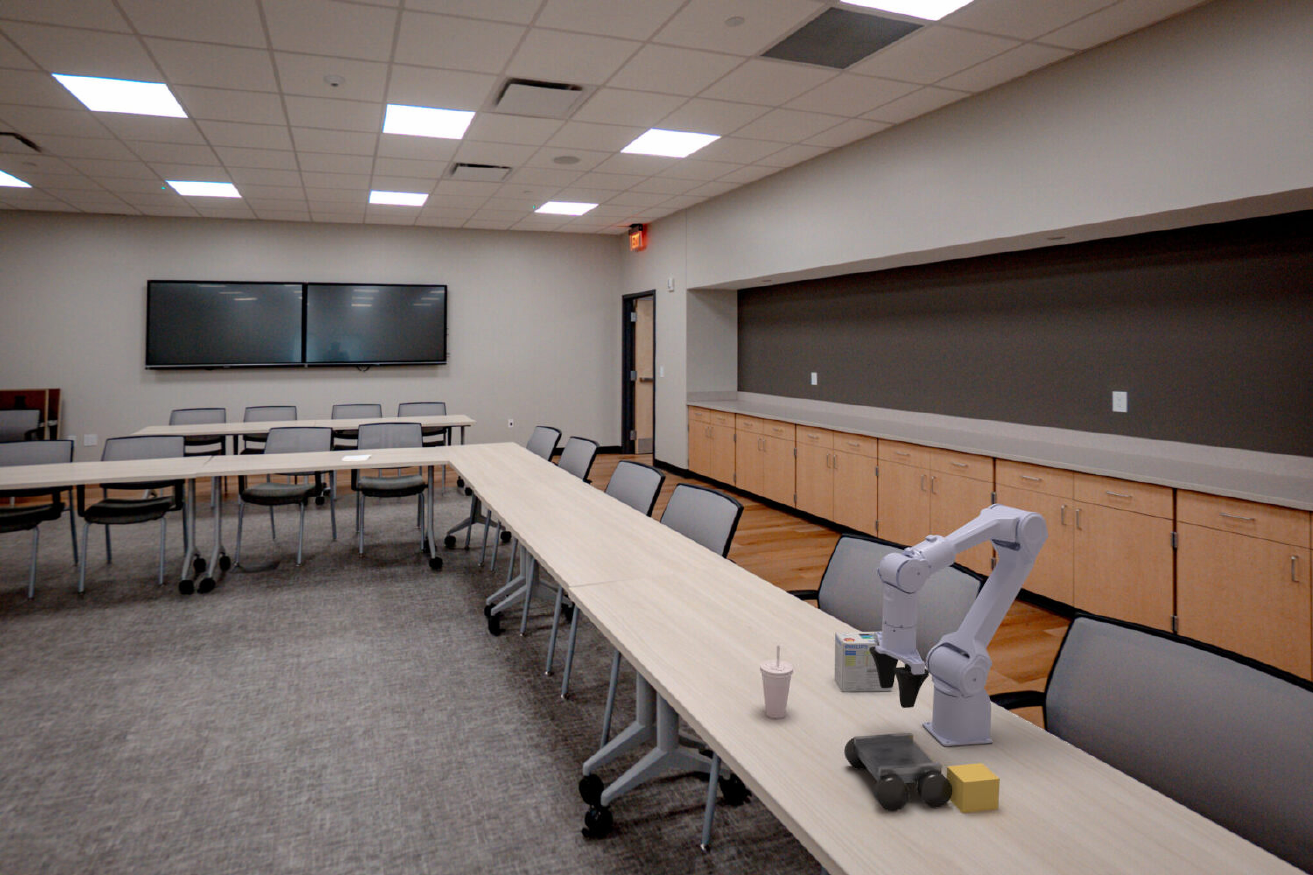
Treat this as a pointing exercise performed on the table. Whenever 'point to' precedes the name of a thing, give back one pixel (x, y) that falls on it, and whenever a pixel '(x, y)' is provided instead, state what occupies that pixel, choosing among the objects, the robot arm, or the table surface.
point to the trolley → (898, 769)
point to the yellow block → (973, 787)
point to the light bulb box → (856, 662)
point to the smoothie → (776, 685)
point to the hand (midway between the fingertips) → (896, 696)
